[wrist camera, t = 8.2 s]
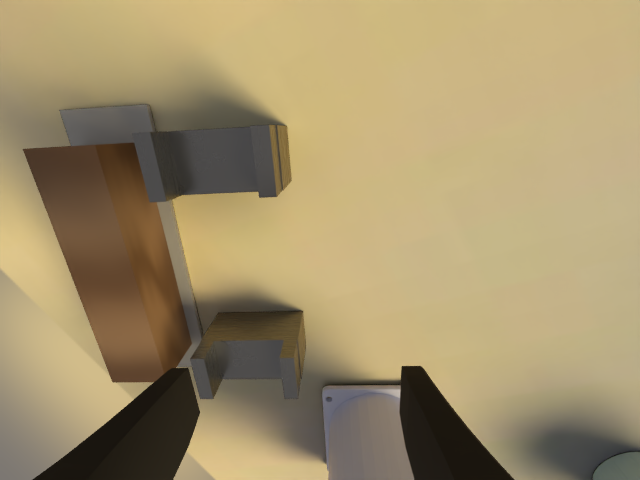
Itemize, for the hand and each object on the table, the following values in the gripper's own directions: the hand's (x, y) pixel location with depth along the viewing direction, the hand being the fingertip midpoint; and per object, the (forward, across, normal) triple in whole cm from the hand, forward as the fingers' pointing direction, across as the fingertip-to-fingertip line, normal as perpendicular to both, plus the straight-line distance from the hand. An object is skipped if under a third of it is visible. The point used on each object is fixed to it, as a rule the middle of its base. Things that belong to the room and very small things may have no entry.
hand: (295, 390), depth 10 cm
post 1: (+10, +4, -7) cm, 13 cm away
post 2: (+10, +4, +5) cm, 12 cm away
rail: (+10, +11, -1) cm, 15 cm away
